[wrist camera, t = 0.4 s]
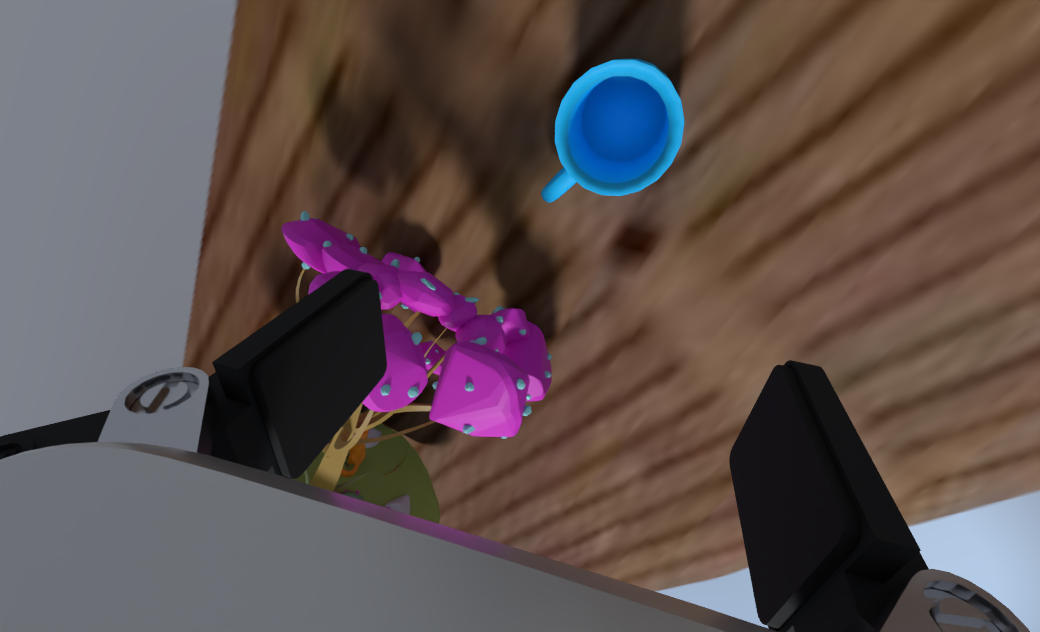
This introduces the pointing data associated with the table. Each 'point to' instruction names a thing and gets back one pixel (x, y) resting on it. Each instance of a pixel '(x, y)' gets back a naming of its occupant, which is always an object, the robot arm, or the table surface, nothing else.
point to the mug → (616, 129)
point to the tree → (420, 373)
